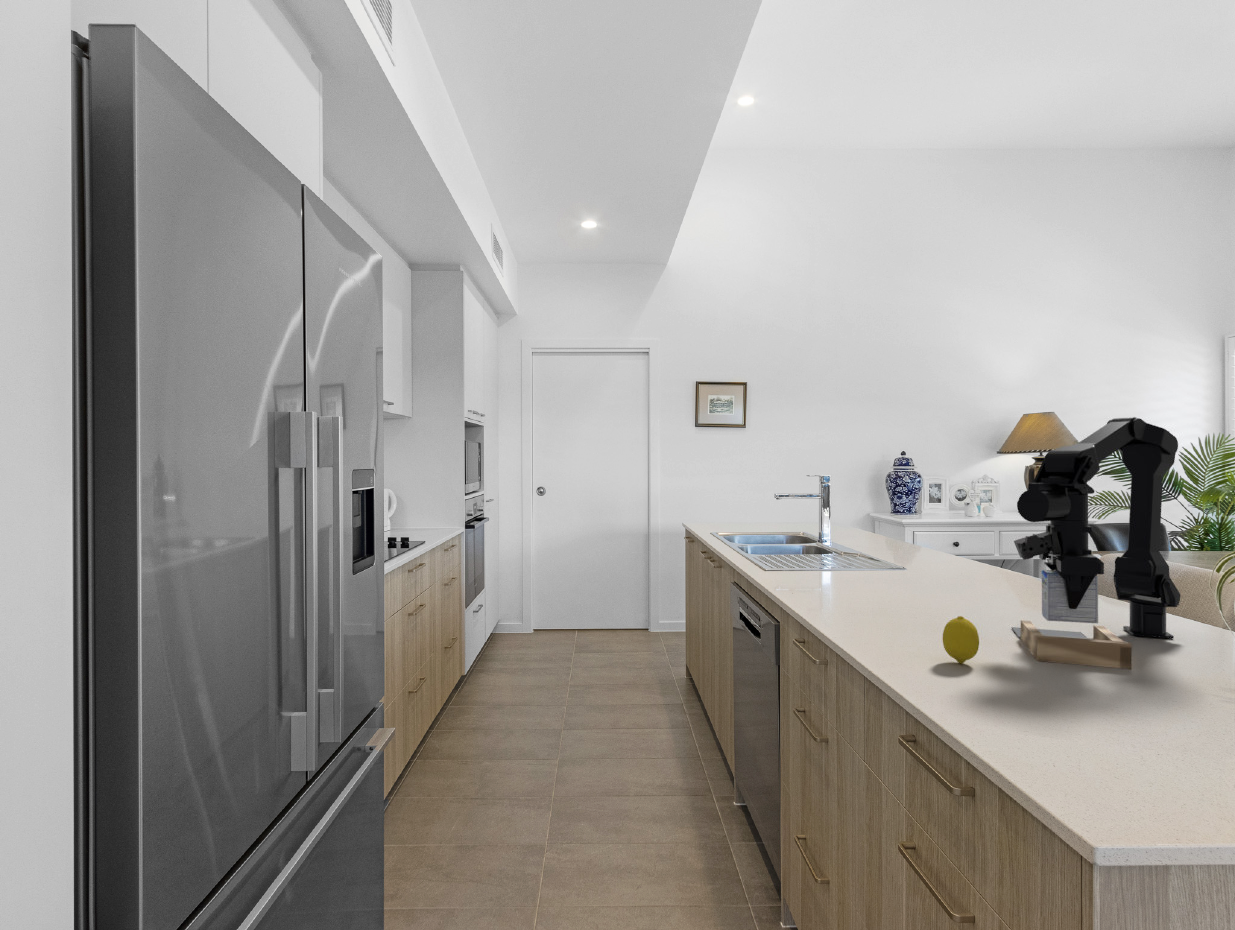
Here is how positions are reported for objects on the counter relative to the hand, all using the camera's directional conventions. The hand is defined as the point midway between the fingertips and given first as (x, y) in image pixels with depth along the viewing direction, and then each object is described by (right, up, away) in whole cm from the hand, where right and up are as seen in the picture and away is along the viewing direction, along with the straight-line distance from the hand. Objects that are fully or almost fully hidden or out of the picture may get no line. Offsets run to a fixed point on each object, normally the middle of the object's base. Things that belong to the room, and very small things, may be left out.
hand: (1069, 606), depth 125 cm
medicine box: (0, -3, 0) cm, 3 cm away
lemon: (-24, -8, -8) cm, 26 cm away
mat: (+3, -8, +10) cm, 13 cm away
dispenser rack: (-1, -8, -2) cm, 8 cm away
